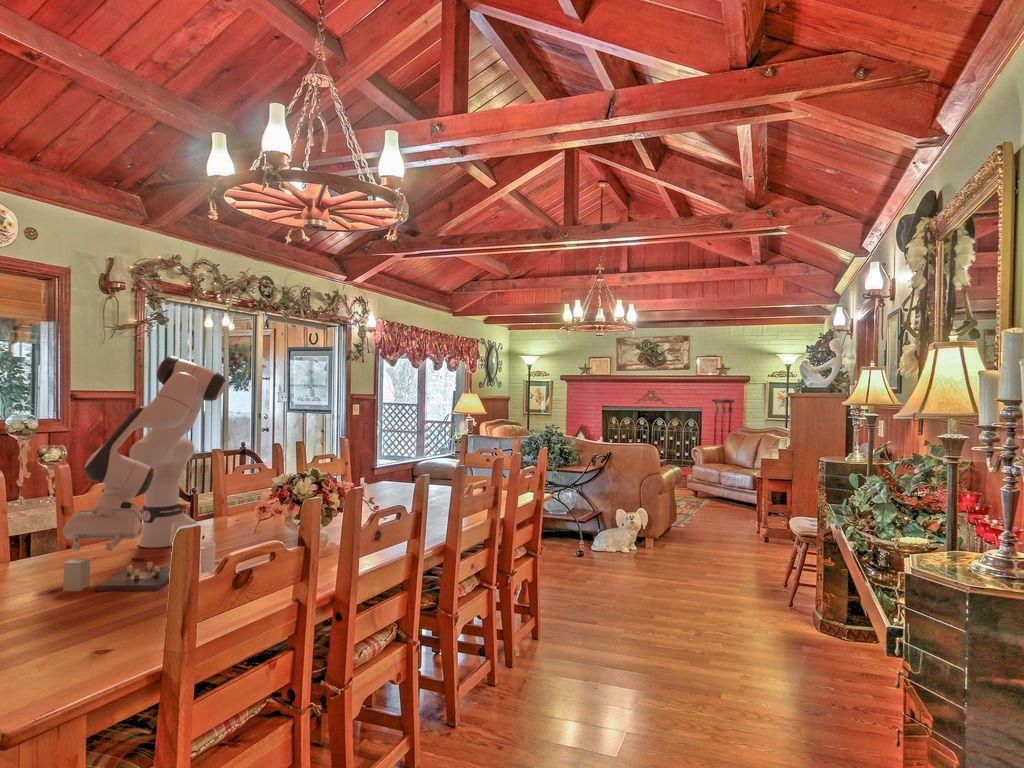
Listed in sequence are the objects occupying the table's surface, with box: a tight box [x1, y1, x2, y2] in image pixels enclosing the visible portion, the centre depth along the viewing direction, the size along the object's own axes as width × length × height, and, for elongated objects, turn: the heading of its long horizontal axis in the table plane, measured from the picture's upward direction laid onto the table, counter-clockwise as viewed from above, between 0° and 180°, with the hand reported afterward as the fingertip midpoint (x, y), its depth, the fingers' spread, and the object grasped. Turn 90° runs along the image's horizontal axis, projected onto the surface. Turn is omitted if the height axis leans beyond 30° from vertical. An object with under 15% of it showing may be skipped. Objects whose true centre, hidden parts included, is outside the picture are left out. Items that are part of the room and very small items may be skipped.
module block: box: [62, 557, 91, 592], centre depth 179 cm, size 4×4×8 cm
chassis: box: [97, 561, 171, 592], centre depth 187 cm, size 18×16×4 cm
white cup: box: [200, 541, 217, 577], centre depth 191 cm, size 8×8×10 cm
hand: (91, 550), depth 184 cm, fingers open, 8 cm apart
